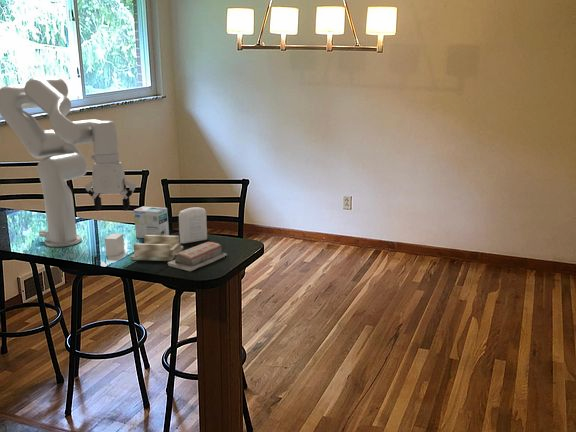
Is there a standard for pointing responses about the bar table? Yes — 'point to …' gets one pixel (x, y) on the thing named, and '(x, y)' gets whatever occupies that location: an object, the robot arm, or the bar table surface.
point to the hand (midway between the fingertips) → (112, 209)
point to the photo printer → (192, 225)
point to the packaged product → (197, 256)
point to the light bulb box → (151, 221)
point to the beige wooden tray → (157, 248)
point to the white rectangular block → (114, 244)
